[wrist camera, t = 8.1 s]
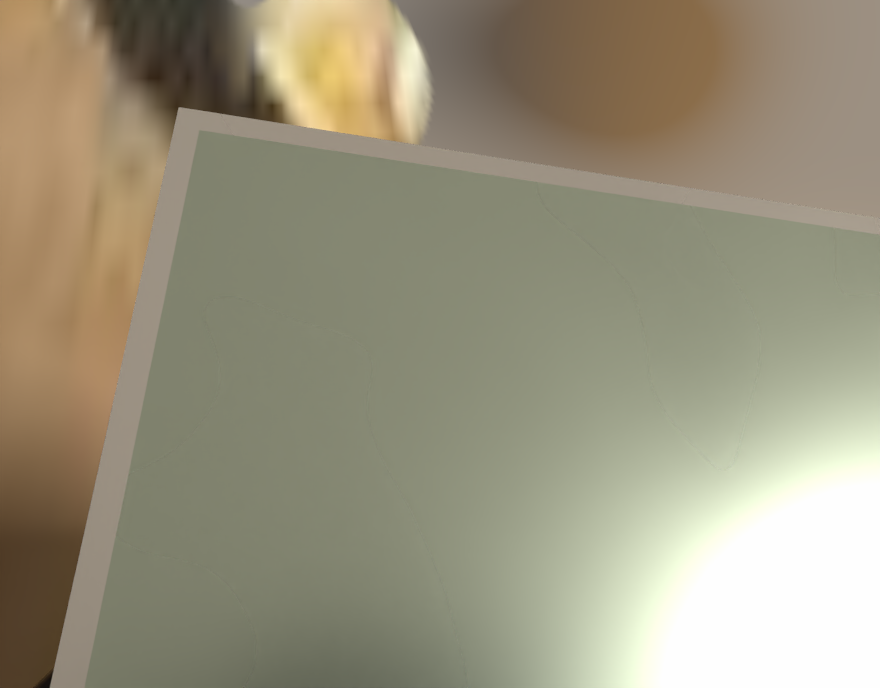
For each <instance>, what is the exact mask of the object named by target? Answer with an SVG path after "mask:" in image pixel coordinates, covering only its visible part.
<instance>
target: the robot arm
mask: <svg viewBox="0 0 880 688" xmlns="http://www.w3.org/2000/svg"><path fill="white" fill-rule="evenodd" d="M53 671H54V669H52V670H51V671H50V672H49V673H48V674H47V675H46V676H45V677H44V678H43V679H42V680H41V681H40V682H39V683H38V684H37V685H36V686H34V687H33V688H50V684H51V680H52V675H53Z"/></svg>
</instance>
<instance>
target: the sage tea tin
mask: <svg viewBox="0 0 880 688" xmlns="http://www.w3.org/2000/svg"><path fill="white" fill-rule="evenodd" d="M50 688H880V218H877V217H870V216H864V215H857V214H851V213H845V212H839V211H832V210H826V209H820V208H813V207H807V206H801V205H794V204H788V203H781V202H775V201H769V200H763V199H756V198H750V197H743V196H737V195H731V194H724V193H718V192H712V191H706V190H699V189H693V188H687V187H680V186H673V185H668V184H661V183H655V182H649V181H642V180H636V179H630V178H623V177H617V176H610V175H604V174H598V173H592V172H584V171H579V170H573V169H566V168H560V167H553V166H547V165H541V164H535V163H528V162H521V161H516V160H509V159H503V158H497V157H490V156H483V155H478V154H471V153H465V152H459V151H452V150H446V149H439V148H433V147H427V146H421V145H414V144H408V143H402V142H396V141H389V140H383V139H377V138H370V137H364V136H358V135H351V134H345V133H339V132H332V131H326V130H320V129H313V128H307V127H301V126H294V125H288V124H282V123H275V122H269V121H263V120H256V119H250V118H244V117H237V116H231V115H225V114H218V113H212V112H206V111H199V110H193V109H187V108H180V107H179V109H178V113H177V118H176V122H175V127H174V131H173V136H172V140H171V145H170V149H169V154H168V158H167V163H166V167H165V172H164V176H163V181H162V185H161V190H160V194H159V199H158V203H157V208H156V212H155V217H154V221H153V226H152V230H151V235H150V239H149V244H148V248H147V253H146V257H145V262H144V266H143V271H142V275H141V280H140V284H139V289H138V293H137V298H136V302H135V307H134V311H133V316H132V320H131V325H130V329H129V334H128V338H127V343H126V347H125V352H124V356H123V361H122V365H121V370H120V374H119V379H118V383H117V388H116V392H115V397H114V401H113V406H112V410H111V415H110V419H109V424H108V428H107V433H106V437H105V442H104V446H103V451H102V455H101V460H100V464H99V469H98V473H97V478H96V482H95V487H94V491H93V496H92V500H91V505H90V509H89V514H88V518H87V522H86V527H85V531H84V536H83V540H82V545H81V549H80V554H79V558H78V563H77V567H76V572H75V576H74V581H73V585H72V590H71V594H70V599H69V603H68V608H67V612H66V617H65V621H64V626H63V630H62V635H61V639H60V644H59V648H58V653H57V657H56V662H55V666H54V671H53V675H52V680H51V684H50Z"/></svg>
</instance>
